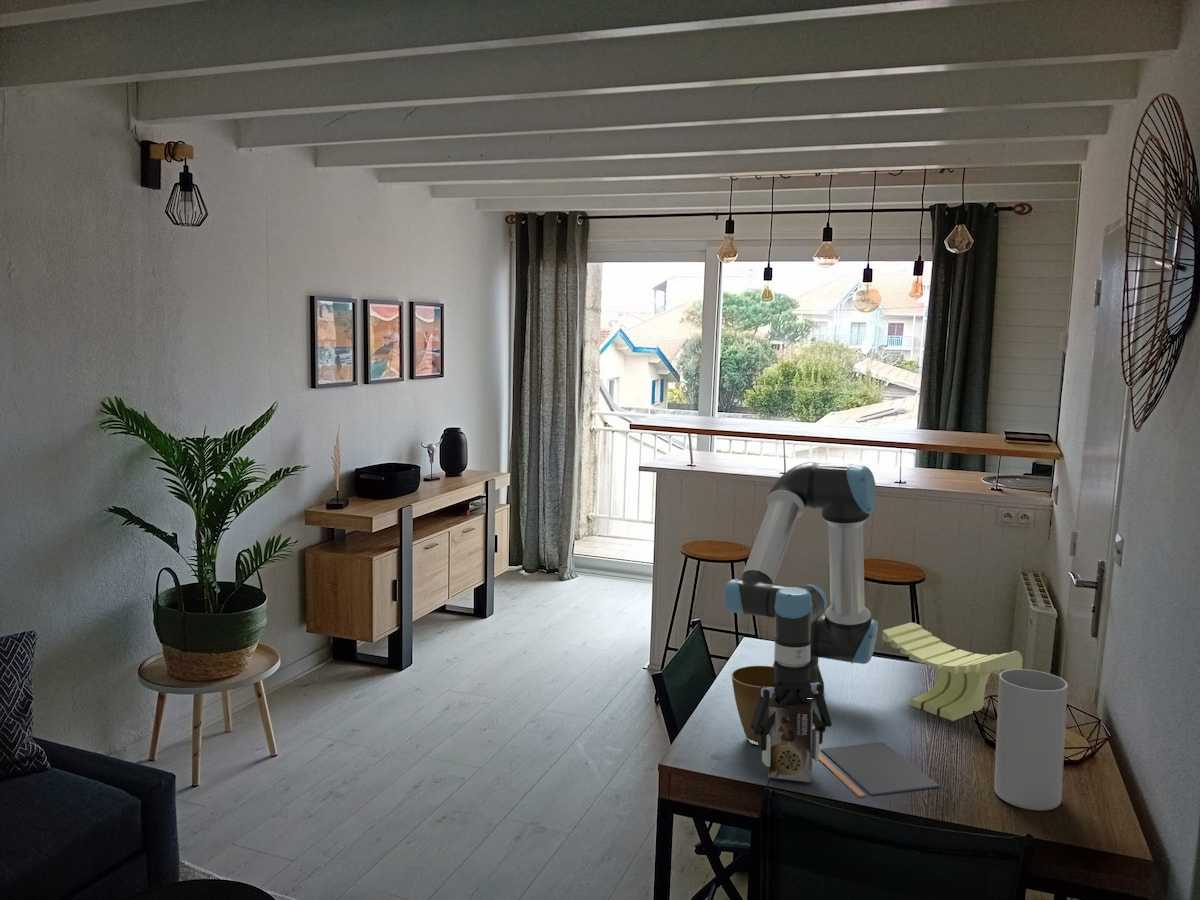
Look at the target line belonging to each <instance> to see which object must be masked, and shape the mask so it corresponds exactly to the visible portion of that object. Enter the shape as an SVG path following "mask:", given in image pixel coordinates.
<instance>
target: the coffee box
mask: <svg viewBox="0 0 1200 900" xmlns="http://www.w3.org/2000/svg"><path fill="white" fill-rule="evenodd" d="M774 698H775V696H774V695H772V698H771V700H770V703H769V718H770V717H771V716H772V715H773V713H774V712H775V723H774V724H773V726H772V728H771V730H770V731H769V736H770V737H771V759H770V766H769V767H767V768H768V771H767V772H768V773H767V778H769V779H777V780H778V779H779V780H787V781H796V782H804V783H811V782H812V775H813V758H812V727H814V724H813V719H812V718H813V710H814V707H813V706H814V704H813V703H814V699H808V700H809V702H810V703H809V704H804V703H803V702H802V703H797V704H791V705H786V706H785V707H781V708H778V706H777V705H776V704H774V702H773V699H774ZM778 703H779V704H780V701H778Z"/></svg>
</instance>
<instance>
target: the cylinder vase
mask: <svg viewBox="0 0 1200 900" xmlns="http://www.w3.org/2000/svg"><path fill="white" fill-rule="evenodd" d="M1068 687H1069V684H1068V682H1067V681H1066V680H1065V679H1064V678H1062V677H1060V676H1057V675H1054V674H1053V673H1048V672H1046V671H1045V672H1044V671H1039V670H1035V669H1027V668H1026V669H1023V668H1022V669H1011V670H1006V671H1003V672H1001V673H1000V674H999V675H998V696H997V697H998V698H997V699H998V701H997V717H996V718H997V720H996V737H995V739H996V741H995V764H994V778H993V779H994V784H993V786H994V787H993V790H994V792H995V794H996V796H998V798H1000V799H1001V800H1002V801H1004V802H1005V803H1007V804H1009V805H1011V806H1014V807H1017V808H1020V809H1023V810H1029V811H1037V812H1038V811H1040V812H1044V811H1045V812H1046V811H1050V810H1055V809H1056V808H1058V807H1059V806H1060V805H1061V803H1062V799H1063V798H1062V795H1063V778H1064V760H1065V759H1064V757H1065V744H1066V743H1065V741H1066V722H1067V708H1068V707H1067V703H1068V701H1067V700H1068Z"/></svg>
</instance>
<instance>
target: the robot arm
mask: <svg viewBox="0 0 1200 900" xmlns="http://www.w3.org/2000/svg"><path fill="white" fill-rule="evenodd" d="M766 505H767V509H766V512H765V515H764V517H763V520H762V523H761V525H760V528H759V530H758V532H757V535H756V538H755V541H754V543H753V546H752V549H751V551H750V554H749V556H748V559H747V561H746V564H745V567H744V570H743V572H742V574H741V577H740V579H739V578H736V579H733V578H732V579H730V580H729V581H727V583H726V584H725V588H724V590H723V591H724V592H723V602H724V605H725V608H726V609H727V611H728V612H732V613H736V614H740V615H748V616H756V617H764V618H771V619H774V652H773V654H774V655H773V656H774V657H773V658H774V661H773V665H772V667H774V684H773V686H772V687H768V688H765V687H764V686H761V687H760V698H759V701H758V704H757V707H756V710H755V713H754V716H753V720H752V723H751V726H750V729H751V731H752V732H753V733H754V734H755V735H759V742H758V746H759V747H758V746H757V747H758V748H759V750H761V762H762V763H763V764H764V765H765V766H766V767H767V768H768V767H769V766H770V759H771V737H770V736H769V735H768V733H769V731H770V730H771V728H772V726H773V724H774V723H775V712H774V713H773V715H772V716H771V717H770V718H769V711H768V712H767V714H766V711H767V708H768V705H769V701H770V698H772V694H773V693H774V694H775V695H776V696H775V698H774V699H773V702H774V704H776V705H777V706H778V708H781V707H785V706H786V705H791V704H797V703H802V702H803V703H804V704H809V703H810V702H809V700H808V699H807V698H815V699H814V701H815V704H816V707H817V710H818V715H819V716H818V715H817V713H816V711H815V709H813V718H812V719H813V727H812V760H814V761H815V762H818V761H819V753H820V745H822V744H823V742H824V741H823V739H824V736H823V735H824V734H823V733H825V732H826V730H827V729H826V727H828V728H830V727H831V726H832V719H831V716H830V713H829V709H828V707H827V704H826V699H825V695H824V694H825V683H824V679H823V676H822V673H821V670H820V666H819V658H821V659H826V660H827V659H828V660H834V661H840V662H846V663H850V664H860V665H861V664H862V665H866V664H869V663H870V661H871V660H872V657H873V654H874V651H875V648H876V643H877V638H878V631H879V630H878V629H879V624H878V623H879V622H878V621H877V620H875V619H872V612H871V611H870V610H869V608H867V607H866V606H865V564H864V563H865V560H864V559H865V554H864V553H865V552H864V523H866V521H868V520H869V519H870V514H871V513H873V512H875V509H876V506H877V486H876V481H875V477H874V474H873V472H872V471H871V469H870V468H869V467H868V466H865V465H858V464H853V463H849V464H847V463H830V462H829V463H828V462H827V463H826V462H825V463H823V462H815V461H814V462H804V463H800V464H798V465H795V466H794V467H791V469H788V470H787V471H786V472H785V473H783V474H782V475H781V476H780V477H779V478H778V479H777V480H776V481H775V483H774V484H773V486H772V487H771V488H770V491H769V493H768V496H767V498H766ZM806 509H817V510H821V519H822V520H823V521H825V522H826V523H827V525H828V526H827V529H828V559H829V560H828V563H829V595H830V596H829V597H830V598H829V599H830V600H829V601H830V605H829V606H828V607H827V605H828V599H827V596H826V593H825V592H824V590H823V589H822V588H820V587H819V586H818V585H815V584H813V583H812V584H811V583H808V584H803V585H800V586H791V585H783V584H782V585H781V584H776V583H775V581H776V578H777V575H778V573H779V569H780V568H781V564H782V561H783V559H784V556H785V554H786V553H785V552H786V551H787V548H788V544H789V542H790V539H791V536H792V533H793V532H794V528H795V525H796V522H797V520H798V518H799V517H801V516H802V515H803V514H804V512H805V510H806ZM823 693H824V694H823ZM778 701H780V704H779V703H778ZM765 714H766V716H765ZM819 717H820V718H819ZM819 762H820V761H819Z"/></svg>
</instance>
